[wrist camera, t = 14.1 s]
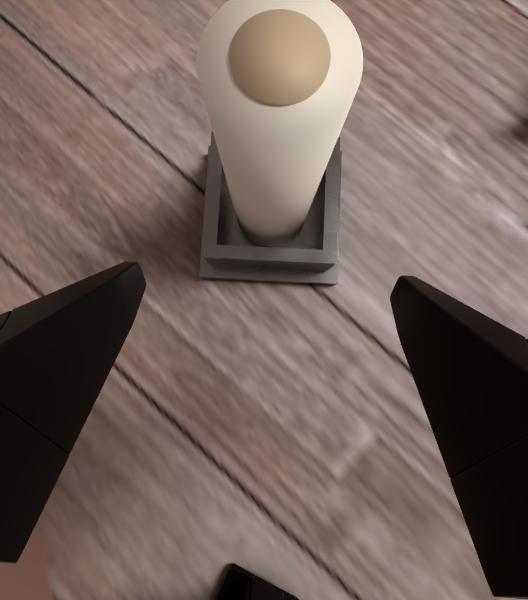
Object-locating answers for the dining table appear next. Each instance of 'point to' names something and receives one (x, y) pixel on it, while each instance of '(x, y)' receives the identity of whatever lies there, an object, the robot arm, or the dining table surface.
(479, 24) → the dining table surface
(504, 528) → the robot arm
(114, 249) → the dining table surface
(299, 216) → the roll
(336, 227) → the holder
